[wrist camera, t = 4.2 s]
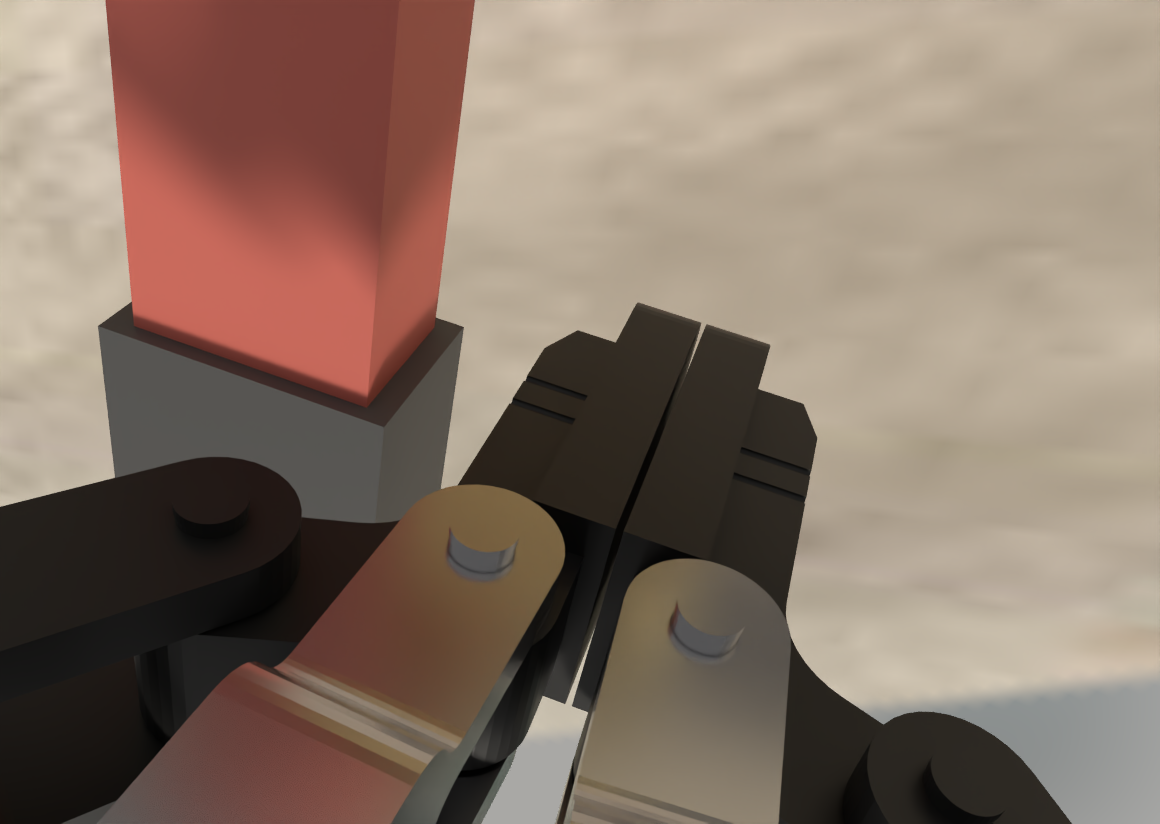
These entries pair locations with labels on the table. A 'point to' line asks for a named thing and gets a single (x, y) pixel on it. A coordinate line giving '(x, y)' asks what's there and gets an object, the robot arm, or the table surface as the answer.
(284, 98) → the lever
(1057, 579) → the table surface
